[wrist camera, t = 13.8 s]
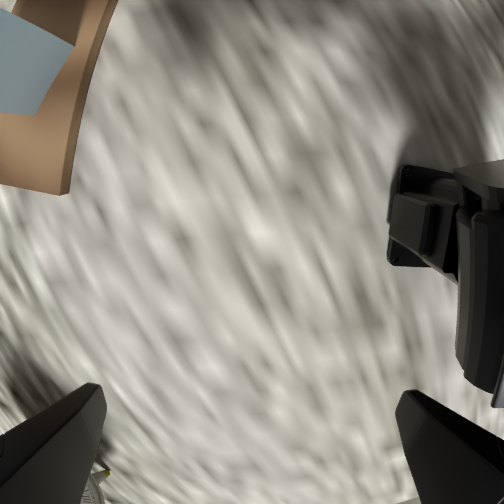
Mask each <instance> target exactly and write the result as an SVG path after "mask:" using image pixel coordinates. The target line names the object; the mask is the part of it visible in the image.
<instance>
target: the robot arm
mask: <svg viewBox="0 0 504 504" xmlns="http://www.w3.org/2000/svg"><path fill="white" fill-rule="evenodd" d="M406 169H408V171H409V174H408V175H407V176H406V175H405V170H406ZM453 171H454V174H452V173H448V172H443V171H438V170H434V169H429V168H424V167H419V166H413V165H407V164H405V165H402V166H401V167H400V168H399V173H398V183H397V192H396V195H395V196H394V198H393V206H392V214H391V221H390V228H389V236H390V243H389V249H388V255H387V260H388V262H389V263H390V264H392V265H393V266H407V267H432V268H434V269H435V270H436V271H438V272H439V273H441V274H442V275H444V276H445V277H447V278H448V279H450V280H451V281H452V282H454V283H455V284H457V285H458V310H457V327H456V340H455V350H456V357H457V359H458V361H459V363H460V365H461V367H462V369H463V370H464V377H465V378H466V379H467V380H468V381H469V382H470V383H471V384H473V385H474V386H476V387H478V388H480V389H482V390H484V391H486V392H488V393H491V394H493V397H492V401H491V407H493V408H504V159H503V160H497V161H492V162H487V163H482V164H477V165H472V166H467V167H462V168H457V169H453ZM395 255H397V258H396V260H393V257H394V256H395ZM106 412H107V404H106V400H105V397H104V393H103V390H102V387H101V386H100V385H99V384H95V383H86V384H84V385H82V386H81V387H79V388H78V389H76V390H74V391H73V392H71V393H70V394H68V395H66V396H65V397H63V398H62V399H60V400H58V401H57V402H55V403H53V404H52V405H50V406H49V407H47V408H45V409H44V410H42V411H40V412H39V413H37V414H35V415H34V416H32V417H30V418H29V419H27V420H26V421H24V422H22V423H21V424H19V425H17V426H16V427H14V428H12V429H11V430H9V431H7V432H6V433H5V435H4V434H2V435H0V504H80V503H81V499H82V496H83V493H84V490H85V487H86V484H87V481H88V478H89V475H90V472H91V469H92V466H93V463H94V460H95V457H96V454H97V451H98V447H99V442H100V438H101V433H102V429H103V424H104V420H105V416H106ZM395 416H396V420H397V424H398V428H399V432H400V437H401V441H402V445H403V449H404V453H405V456H406V460H407V462H408V465H409V468H410V471H411V474H412V477H413V480H414V483H415V486H416V489H417V492H418V495H419V498H420V501H421V504H504V440H503V439H501V438H499V437H497V436H496V435H494V434H492V433H490V432H489V431H487V430H485V429H483V428H482V427H480V426H478V425H476V424H475V423H473V422H471V421H469V420H468V419H466V418H464V417H462V416H461V415H459V414H457V413H456V412H454V411H452V410H450V409H449V408H447V407H445V406H444V405H442V404H440V403H439V402H437V401H435V400H434V399H432V398H430V397H429V396H427V395H425V394H424V393H422V392H420V391H419V390H416V389H412V390H406V391H404V392H403V394H402V396H401V398H400V401H399V403H398V406H397V408H396V412H395Z"/></svg>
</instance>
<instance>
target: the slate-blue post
mask: <svg viewBox="0 0 504 504" xmlns="http://www.w3.org/2000/svg"><path fill="white" fill-rule="evenodd" d="M74 48H75V47H74V46H73V45H71V44H69V43H67V42H65V41H64V40H62V39H60V38H58V37H56V36H55V35H53V34H51V33H49V32H47V31H45V30H43V29H41V28H40V27H38V26H36V25H34V24H32V23H30V22H28V21H26V20H24V19H22V18H20V17H18V16H16V15H14V14H12V13H10V12H8V11H6V10H4V9H1V8H0V112H3V113H14V114H23V115H32V116H35V114H36V112H37V110H38V108H39V106H40V104H41V103H42V101H43V99H44V97H45V95H46V93H47V92H48V90H49V88H50V86H51V84H52V83H53V81H54V79H55V78H56V76H57V74H58V73H59V71H60V69H61V68H62V66H63V65H64V63H65V61H66V60H67V58H68V57H69V55H70V54H71V52H72V51H73V49H74Z"/></svg>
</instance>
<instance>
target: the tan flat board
mask: <svg viewBox="0 0 504 504" xmlns="http://www.w3.org/2000/svg"><path fill="white" fill-rule="evenodd" d="M117 1H118V0H17V1H16V3H15V5H14V8H13V10H12V12H11V13H12V14H14V15H16V16H18V17H20V18H22V19H24V20H26V21H28V22H30V23H32V24H34V25H36V26H38V27H40V28H41V29H43V30H45V31H47V32H49V33H51V34H53V35H55V36H56V37H58V38H60V39H62V40H64V41H65V42H67V43H69V44H71V45H73V46H74V47H75V48H74V49H73V51H72V52H71V54H70V55H69V57H68V58H67V60H66V61H65V63H64V65H63V66H62V68H61V69H60V71H59V73H58V74H57V76H56V78H55V79H54V81H53V83H52V84H51V86H50V88H49V90H48V92H47V93H46V95H45V97H44V99H43V101H42V103H41V104H40V106H39V108H38V110H37V112H36V114H35V116H32V115H23V114H14V113H3V112H0V184H3V185H8V186H13V187H18V188H23V189H28V190H33V191H38V192H43V193H48V194H53V195H58V196H60V195H64V194H68V193H69V187H70V179H71V172H72V165H73V159H74V153H75V147H76V142H77V136H78V131H79V126H80V121H81V117H82V112H83V108H84V104H85V100H86V96H87V92H88V88H89V84H90V80H91V77H92V73H93V70H94V66H95V63H96V60H97V57H98V53H99V50H100V47H101V44H102V41H103V38H104V35H105V33H106V30H107V27H108V24H109V22H110V19H111V16H112V14H113V11H114V9H115V6H116V4H117Z"/></svg>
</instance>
